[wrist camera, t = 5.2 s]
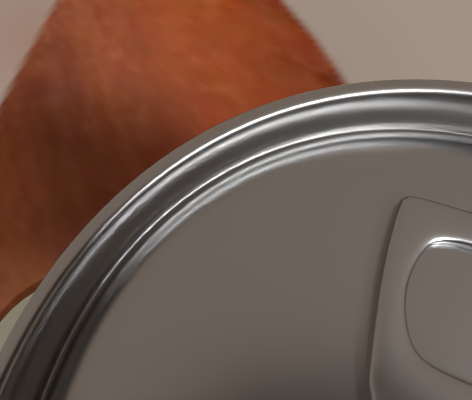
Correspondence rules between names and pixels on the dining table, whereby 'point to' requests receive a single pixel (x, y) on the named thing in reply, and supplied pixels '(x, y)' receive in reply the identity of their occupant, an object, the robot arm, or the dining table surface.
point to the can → (273, 262)
